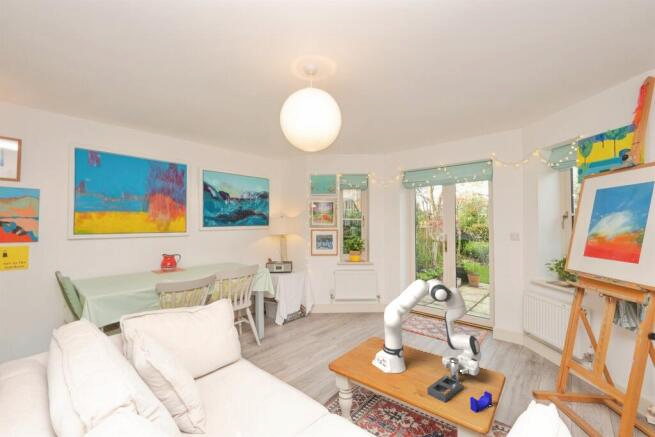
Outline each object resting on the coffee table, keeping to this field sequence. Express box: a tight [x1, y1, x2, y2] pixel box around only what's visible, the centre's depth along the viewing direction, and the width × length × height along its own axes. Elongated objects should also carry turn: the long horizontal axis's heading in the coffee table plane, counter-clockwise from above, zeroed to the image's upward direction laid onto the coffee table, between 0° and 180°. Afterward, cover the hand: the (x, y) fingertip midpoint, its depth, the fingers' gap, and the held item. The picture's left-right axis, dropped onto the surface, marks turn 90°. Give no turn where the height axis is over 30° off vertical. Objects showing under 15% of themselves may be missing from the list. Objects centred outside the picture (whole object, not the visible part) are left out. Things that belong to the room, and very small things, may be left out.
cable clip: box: [469, 390, 493, 414], centre depth 146 cm, size 12×4×6 cm, turn 115°
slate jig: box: [426, 375, 463, 403], centre depth 160 cm, size 10×19×4 cm, turn 130°
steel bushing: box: [449, 356, 460, 381], centre depth 169 cm, size 5×5×13 cm
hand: (453, 369), depth 168 cm, fingers open, 8 cm apart
